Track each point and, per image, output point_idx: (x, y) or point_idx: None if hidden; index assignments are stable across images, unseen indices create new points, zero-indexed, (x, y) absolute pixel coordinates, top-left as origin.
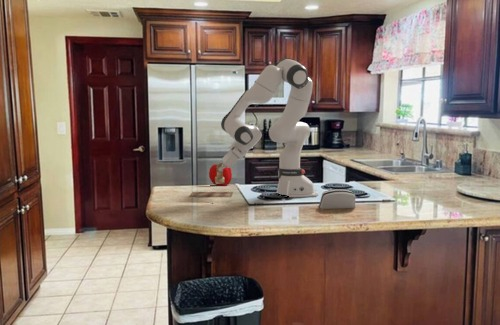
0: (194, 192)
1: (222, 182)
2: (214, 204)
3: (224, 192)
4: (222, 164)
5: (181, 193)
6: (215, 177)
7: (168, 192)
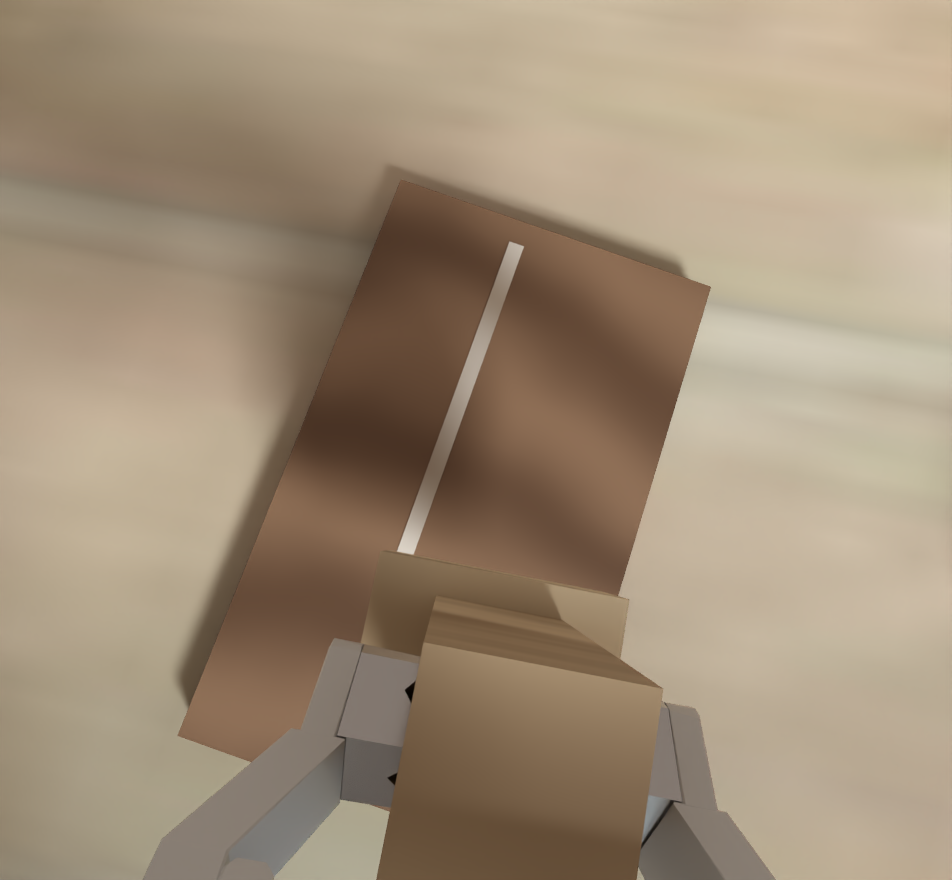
0: (655, 301)
1: None
2: (32, 444)
3: None
4: (217, 863)
5: (798, 185)
6: (561, 587)
7: (894, 55)
